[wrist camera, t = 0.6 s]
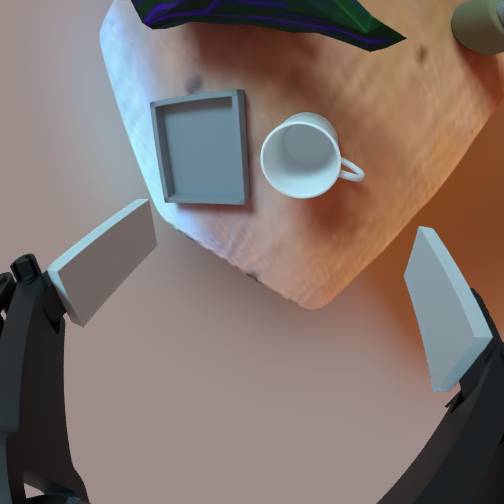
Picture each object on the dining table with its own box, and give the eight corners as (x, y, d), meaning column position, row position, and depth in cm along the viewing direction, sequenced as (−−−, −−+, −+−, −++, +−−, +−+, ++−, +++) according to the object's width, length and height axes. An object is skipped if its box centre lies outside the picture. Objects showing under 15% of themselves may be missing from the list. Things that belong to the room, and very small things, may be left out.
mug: (369, 141, 33) (387, 162, 23) (341, 191, 38) (345, 229, 28) (292, 102, 33) (277, 104, 23) (268, 154, 38) (245, 178, 28)
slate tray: (243, 90, 33) (237, 89, 31) (250, 197, 42) (244, 204, 40) (160, 100, 36) (150, 102, 34) (173, 195, 45) (165, 202, 43)
